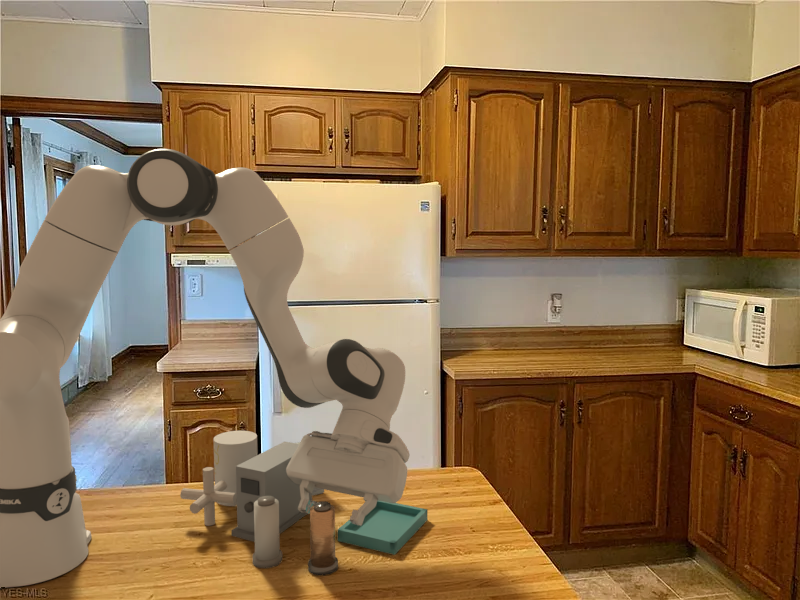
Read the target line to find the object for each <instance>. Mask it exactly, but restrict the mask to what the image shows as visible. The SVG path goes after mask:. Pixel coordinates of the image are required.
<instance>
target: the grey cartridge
mask: <svg viewBox="0 0 800 600" xmlns="http://www.w3.org/2000/svg"><path fill="white" fill-rule="evenodd" d="M254 533H255V542H254V552H253V553H252V565H253V566H255V567H256V568H259V569H273V568H274V567H278V566H279V565H280V564H281V563H282V562H283V551H282V550H281V549H280V548H281V547H280V534H279V501H278V500H277V499H275V498H274V497H273V496H262V497H260V498H258V500H257V501H255V502H254Z"/></svg>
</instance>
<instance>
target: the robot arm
mask: <svg viewBox="0 0 800 600" xmlns="http://www.w3.org/2000/svg"><path fill="white" fill-rule="evenodd" d="M195 220H202V221H205V222H207V223H208V224H209V225H210V226H211V227H212V228H213V229H214V230H215V231H216V233H217V235H218V236H219V237H220V240H222V242H223V244H224V245H225V247H226V249H227V250H228V252H229V254H230V256H231V258H232V260H233V262H234V263H235V266H236V268H237V270H238V272H239V275H240V277H241V280H242V283H243V292H244V293H243V294H244V297H245V300H246V303H247V305H248V307H249V311H250V312H251V314H252V316H253V319H254V321H255V323H256V325H257V328H258V330H259V331H260V334H261V335H262V336H261V337H262V338H263V340H264V342H265V344H266V346H267V348H268V350H269V353H270V355H271V357H272V360H273V362H274V364H275V368H276V369H275V370H276V373H277V379H278V383H279V386H280V388H281V391H282V392H283V394H284V396H285V398H287V400H288V401H290V403H291V404H293V405H295V406H296V407H298V408H304V409H310V408H314V407H317V406H320V405H322V404H325V403H328V402H333V401H337V402H338V403H340V404H341V405H342V409H341V412H340V414H339V416H338V419H337V421H336V424H335V425H334V428H333V431H332V433H330V432H321V431H318V430H312V431H311V432H310V433H307V434H305V435H303V436H302V438H301V440H300V441H299V442H300V444H299V446H298V448H297V449H296V451H295V453H294V454H293V456H292V458H291V460H290V462H289V464H288V466H287V468H286V472H287V476H288V477H289V478H290V479H291V480H292V481H293V482H294V483H296V484H300V494H301V501H300V503H299V506H298V510H299V511H300V512H302V513H307V515H310V508H311V507H312V506H313V503H312V502H311V501H310V500H309V493H312V492H313V489H314V487H315V488H320V489H324V491H325V490H326V491H330V492H335V493H340V494H345V495H349V496H353V497H354V496H355V497H360V498H363V501H364V502H363V504H362V505H361V506H360V507H359V508H358V509H352V510H351V511H352V512H351V515H350V517H349V520H350V522H352V524H356V525H360V526H361V525H362V523H363V521H364V518H365V515H367V514H368V513H369V512H370V511H371V510H372V509H374V508H375V506H376V504H377V501H383V502H388V503H393V504H394V503H398V502H399V501H400V500H401V499H402V497H403V494H404V490H405V486H406V483H407V478H408V467H407V465H406V463H407V462H408V461H409V458H410V451H409V449H408V446H407V445H406V444H405V443H404V440H402V437H400V436H399V434H397V433H395V432H394V431H391V430H390V428H391V420H392V417H393V415H394V414H395V413H396V411H397V410H398V409H397V408H398V407H399V403H400V402H401V397H402V395H403V391H404V388H405V387H404V386H405V382H406V366H405V363H404V362H403V360H402V359H401V358H400V357H399V356H398V355H397V354H395V352H393V351H391V350H389V349H386V348H383V347H382V348H381V347H377V348H369V347H365V346H364V345H362V344H361V343H360V342H358V341H356V340H354V339H350V338H342V339H337V340H334V341H330V342H328V343H324V344H322V345H319V346H317V347H311V346H309V345H308V344H307V343H306V341H304V339H303V336H302V334H301V331H300V330H299V328H298V326H297V323H296V321H295V318H294V317H293V314H292V312H291V311H290V310H291V309H290V308H289V305H288V293H289V289H290V287H291V285H292V283H293V281H294V280H295V279H296V277H297V276H298V274H299V272H300V270H301V267H302V264H303V261H304V254H305V251H304V249H305V248H304V247H303V243H302V240H301V237H300V235H299V232H298V231H297V229H296V227H295V225H294V223H293V222H292V220H291V219H290V217H289V215H288V213H287V212H286V210H285V208H284V207H283V206H282V204H281V203H280V201H279V199H278V198H277V197H276V195H275V194H274V192H273V191H272V190H271V188H270V187H269V186H268V185H267V184H266V182H265V181H264V180H263V179H262V178H261V176H260V175H259V174H258V173H257V172H256V171H254V170H252V169H250V168H248V167H233V168H228V169H225V170H224V171H221V172H219V173H217V174H215V172H214V171H213V170H212V169H210V168H209V167H206V166H205V165H203V164H201V162H198V161H197V160H195V159H194V158H192V157H191V156H189V155H187V154H185V153H183V152H181V151H178V150H176V149H170V148H157V149H156V148H155V149H152V150H149V151H147V152H144V153H143V154H141V155H140V156H139V157H137V159H136V160H135V161H134V162H133V163H132V165H131V167H130V168H129V170H128V172H125V173H124V172H120V171H118V170H116V169H113V168H111V167H107V166H103V165H93V164H92V165H86V166H83V167H82V168H80V169H78V170H77V171H76V172H75V173H74V174H73V176H72V177H71V178H70V179H69V180H68V182H67V183H66V184H65V185H64V187H63V188H62V189H61V191H60V193H58V196H57V197H56V199H55V200H54V202H53V203H52V205H51V207H50V208H49V210H48V212H47V213H46V215H45V217H44V220H43V221H42V224H41V225H40V228H39V229H38V231H37V232H36V235H35V236H34V237H35V238H34V240H32V243H31V245H30V247H29V248H28V250H27V253H26V255H25V257H24V259H23V261H22V263H21V265H20V267H19V273H18V277H17V279H16V283H15V285H14V288H13V292H12V293H11V297H10V300H9V302H8V305H7V307H6V309H5V311H4V313H3V315H2V317H1V318H0V589H2V588H1V587H5V588H14V587H23V586H30V585H34V584H39V583H42V582H46V581H50V580H52V579H55V578H57V577H60V576H62V575H64V574H66V573H68V572H70V571H72V570H74V569H75V568H77V567H78V566H80V564H81V563H83V562H84V561H85V560H86V558H87V557H88V554H89V547H88V545H89V543H90V541H91V540H92V532H91V530H88V529H86V522H85V516H84V510H83V506H82V505H83V504H82V499H81V495H80V494H79V493H77V492H76V491H77V481H78V480H77V474H76V469H75V467H74V466H73V463H72V462H73V461H72V448H71V447H72V446H71V427H70V419H69V416H68V414H67V411H66V407H65V403H64V399H63V393H62V390H61V389H62V388H61V380H60V372H61V368H63V366H64V365H65V364H66V363H67V361H68V359H69V357H70V356H71V354H72V352H73V350H74V347H75V346H76V342H77V340H78V339H79V336H80V335H81V332H82V330H83V328H84V326H85V323H86V320H87V319H88V316H89V314H90V312H91V310H92V307H93V305H94V303H95V300H96V298H97V296H98V293H99V292H100V290H101V288H102V286H103V284H104V282H105V280H106V278H107V276H108V273H109V272H110V270H111V268H112V266H113V264H114V262H115V260H116V258H117V255H118V254H119V252H120V250H121V248H122V246H123V244H124V243H125V240H126V237H127V236H128V234H129V233H130V231H131V230H132V228H133V227H135V226H136V224H138V223H139V222H140V221H148V222H149V221H150V222H155V223H158V224H161V225H165V226H180V225H185V224H188V223H191V222H193V221H195Z"/></svg>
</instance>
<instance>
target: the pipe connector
mask: <svg viewBox="0 0 800 600" xmlns="http://www.w3.org/2000/svg"><path fill="white" fill-rule="evenodd" d="M202 485H203V487H202V489H199V488H187V487H184V488H182V489H181V491H180V494H179V495H180V499H182V500H191V501H193V502H192V503H191V504H190V505H189V511H190V512H191V513H192V514H198V513H200V512H201V510H203V516H204V517H203V518H204V522H203V523H204V525H205V526H207V527H210V526H215V524H216V507H215V505H216V504H215V503H217V502H221V503H231V504H235V503H236V501H237V493H231V492H223V491H224V490H225V489H226V488H227V484H226V482H225V481H219V482H218V483H217V484H216V485H215V473H214V466H213V467H212V466H206V467H203V468H202Z"/></svg>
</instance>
